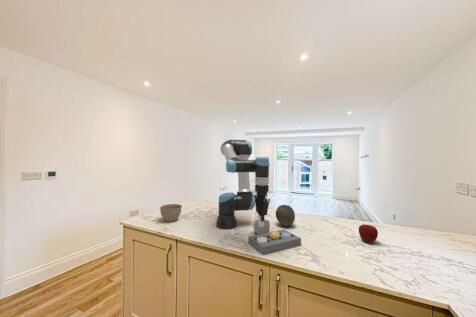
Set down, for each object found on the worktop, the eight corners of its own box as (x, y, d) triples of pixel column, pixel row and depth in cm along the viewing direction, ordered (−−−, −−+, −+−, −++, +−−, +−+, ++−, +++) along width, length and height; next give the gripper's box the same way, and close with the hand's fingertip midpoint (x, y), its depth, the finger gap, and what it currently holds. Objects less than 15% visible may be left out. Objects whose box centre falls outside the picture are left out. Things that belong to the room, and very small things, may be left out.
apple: (360, 237, 123) (361, 221, 123) (379, 241, 116) (379, 225, 116) (356, 241, 116) (356, 224, 116) (375, 246, 110) (376, 229, 110)
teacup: (269, 237, 121) (269, 224, 121) (252, 235, 123) (252, 223, 123) (270, 229, 135) (270, 218, 135) (254, 228, 137) (254, 216, 137)
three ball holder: (248, 243, 113) (248, 236, 113) (283, 235, 124) (283, 229, 124) (262, 254, 99) (262, 247, 99) (301, 245, 111) (301, 238, 111)
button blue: (279, 239, 117) (279, 232, 117) (286, 237, 119) (286, 231, 119) (285, 243, 112) (285, 236, 112) (292, 241, 114) (293, 234, 114)
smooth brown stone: (297, 224, 145) (297, 204, 145) (291, 230, 133) (291, 208, 133) (279, 221, 153) (279, 202, 153) (272, 226, 141) (272, 205, 141)
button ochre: (267, 238, 113) (267, 231, 113) (275, 237, 115) (275, 230, 115) (273, 242, 108) (273, 235, 108) (281, 240, 110) (281, 233, 110)
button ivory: (254, 244, 109) (255, 237, 109) (263, 243, 112) (263, 236, 112) (260, 249, 104) (260, 241, 104) (269, 247, 107) (269, 239, 107)
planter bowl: (155, 223, 146) (155, 208, 146) (166, 216, 162) (166, 203, 162) (175, 224, 143) (175, 209, 143) (185, 217, 159) (185, 204, 159)
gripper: (250, 183, 113) (249, 223, 113) (262, 186, 101) (262, 231, 102) (261, 182, 116) (260, 221, 117) (274, 185, 104) (273, 229, 105)
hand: (261, 226), depth 109 cm, fingers closed
